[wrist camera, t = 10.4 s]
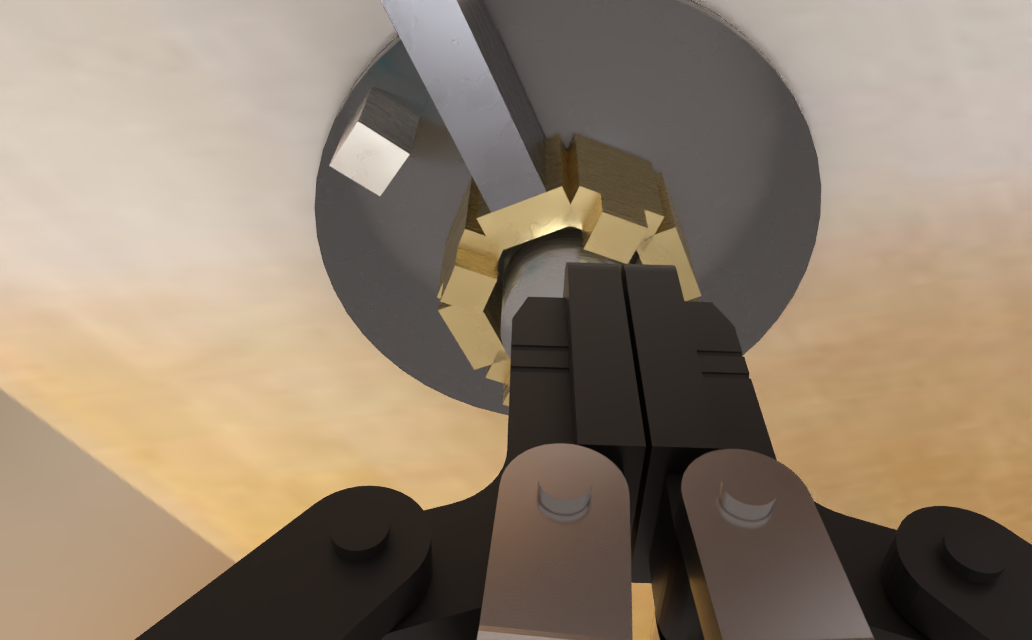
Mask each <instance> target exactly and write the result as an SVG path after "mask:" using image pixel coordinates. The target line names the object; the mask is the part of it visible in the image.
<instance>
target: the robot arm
mask: <svg viewBox="0 0 1032 640" xmlns="http://www.w3.org/2000/svg"><path fill="white" fill-rule="evenodd" d="M631 583H652V590H653V597H654V605H655V611H654V616H653V620H652V625H651V630H650V640H1032V545H1031V544H1029V543H1028V542H1026V541H1025V540H1023V539H1022V538H1020V537H1019V536H1017V535H1016V534H1014V533H1013V532H1011V531H1010V530H1008V529H1007V528H1005V527H1004V526H1002V525H1000V524H999V523H997V522H995V521H994V520H991V519H989V518H987V517H985V516H983V515H981V514H978V513H975V512H972V511H969V510H965V509H961V508H957V507H948V506H932V507H926V508H922V509H919V510H916V511H914V512H912V513H911V514H909V515H908V516H907V517H906V518H905V519H904V520H903V521H902V522H901V524H900V526H899V528H898V530H895V529H891V528H888V527H884V526H881V525H877V524H874V523H870V522H867V521H863V520H860V519H856V518H853V517H849V516H846V515H843V514H840V513H837V512H834V511H832V510H830V509H828V508H825V507H823V506H821V505H820V504H818V503H816V502H814V501H813V499H812V497H811V494H810V492H809V491H808V489H807V487H806V485H805V484H804V483H803V482H802V480H801V479H800V478H799V477H798V476H797V475H796V474H795V473H794V472H793V471H792V470H791V469H789V468H788V467H786V466H785V465H784V464H782V463H780V462H779V461H777V460H776V457H775V454H774V451H773V447H772V444H771V441H770V438H769V435H768V431H767V428H766V425H765V422H764V419H763V416H762V412H761V409H760V406H759V403H758V400H757V397H756V393H755V390H754V387H753V384H752V381H751V379H749V371H748V368H747V365H746V362H745V358H744V357H742V349H741V346H740V343H739V339H738V336H737V333H736V330H735V327H734V325H733V324H732V323H731V322H730V321H729V320H728V319H727V318H726V317H725V315H724V314H723V313H722V312H721V311H720V310H719V309H718V308H717V307H716V306H715V305H714V304H713V303H712V302H689V301H684V297H683V293H682V289H681V285H680V281H679V277H678V273H677V269H676V267H675V266H674V265H648V264H622V265H621V267H619V264H611V263H580V262H566V266H565V276H564V289H563V298H558V297H527V299H526V300H525V302H524V303H523V304H522V306H521V307H520V308H519V310H518V311H517V313H516V314H515V315H514V317H513V318H512V336H511V364H510V391H509V419H508V447H507V456H506V461H505V463H504V466H503V468H502V470H501V471H500V473H499V475H498V476H497V477H496V478H495V480H494V481H493V482H492V483H491V484H490V485H488V486H487V487H486V488H485V489H484V490H482V491H480V492H479V493H477V494H476V495H474V496H472V497H470V498H467V499H465V500H463V501H459V502H456V503H453V504H449V505H445V506H441V507H437V508H433V509H428V510H424V511H423V509H422V508H421V507H420V506H419V505H418V504H417V503H416V502H415V501H414V500H413V499H412V498H410V497H408V496H407V495H405V494H403V493H401V492H399V491H396V490H393V489H390V488H385V487H380V486H358V487H353V488H347V489H344V490H341V491H338V492H335V493H333V494H331V495H329V496H327V497H325V498H323V499H322V500H320V501H318V502H317V503H315V504H314V505H313V506H311V507H310V508H309V509H307V510H306V511H305V512H303V513H302V514H301V515H299V516H298V517H297V518H295V519H294V520H293V521H291V522H290V523H289V524H288V525H286V526H285V527H284V528H282V529H281V530H280V531H278V532H277V533H276V534H274V535H273V536H272V537H270V538H269V539H268V540H266V541H265V542H264V543H262V544H261V545H260V546H258V547H257V548H256V549H254V550H253V551H252V552H250V553H249V554H248V555H246V556H245V557H244V558H242V559H241V560H240V561H238V562H237V563H236V564H234V565H233V566H232V567H231V568H229V569H228V570H227V571H225V572H224V573H222V574H221V575H220V576H218V577H217V578H216V579H215V580H213V581H212V582H211V583H209V584H208V585H207V586H205V587H204V588H203V589H201V590H200V591H199V592H197V593H196V594H195V595H193V596H192V597H191V598H189V599H188V600H187V601H185V602H184V603H183V604H181V605H180V606H179V607H177V608H176V609H175V610H173V611H172V612H171V613H169V614H168V615H167V616H165V617H164V618H163V619H161V620H160V621H159V622H157V623H156V624H155V625H153V626H152V627H151V628H150V629H148V630H147V631H145V632H144V633H143V634H142V635H140V636H139V637H137V638H136V639H135V640H632V590H631Z"/></svg>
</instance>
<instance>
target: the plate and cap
mask: <svg viewBox="0 0 1032 640" xmlns="http://www.w3.org/2000/svg"><path fill="white" fill-rule="evenodd" d="M483 1H484V4H485V6H486V8H487V10H488V13H489V15H490V17H491V19H492V21H493V24H494V26H495V28H496V30H497V33H498V35H499V37H500V39H501V41H502V44H503V46H504V48H505V50H506V53H507V55H508V57H509V59H510V61H511V64H512V66H513V68H514V70H515V73H516V75H517V77H518V79H519V81H520V84H521V86H522V88H523V90H524V93H525V95H526V97H527V99H528V101H529V104H530V106H531V108H532V110H533V113H534V115H535V117H536V119H537V121H538V124H539V126H540V128H541V130H542V133H543V135H544V137H545V139H547V138H549V137H552V136H554V135H557V134H560V136H561V139H562V141H563V143H564V145H565V148H566V150H568V148H569V146H570V144H571V141H572V139H573V137H574V135H575V134H578V135H581V136H583V137H586V138H589V139H591V140H594V141H597V142H599V143H602V144H605V145H607V146H610V147H613V148H615V149H618V150H621V151H623V152H626V153H629V154H631V155H634V156H636V157H639V158H642V159H644V160H647V161H650V162H652V166H653V170H654V175H655V174H658V173H660V172H662V174H663V177H664V179H665V182H666V185H667V188H668V190H669V193H670V196H671V198H672V201H673V204H674V206H675V209H676V212H677V215H678V217H679V220H680V223H681V225H682V228H683V231H684V233H685V236H686V240H687V243H688V247H689V251H690V255H691V258H692V262H693V266H694V270H695V273H696V277H697V281H698V285H699V289H700V292H701V296H700V297H697V301H698V302H712V303H713V304H714V305H715V306H716V307H717V308H718V309H719V310H720V311H721V312H722V313H723V314H724V315H725V317H726V318H727V319H728V320H729V321H730V322H731V323H732V324H733V325H734V327H735V330H736V333H737V336H738V339H739V343H740V346H741V349H742V356H743V355H744V354H745V353H746V352H747V351H748V350H749V349H750V348H751V347H752V346H754V345H755V344H756V343H757V342H758V341H759V340H760V339H761V338H762V337H763V335H764V334H765V333H766V332H767V331H768V330H769V329H770V327H771V326H772V325H773V324H774V323H775V322H776V321H777V319H778V318H779V316H780V315H781V314H782V312H783V311H784V309H785V308H786V306H787V305H788V303H789V302H790V300H791V299H792V297H793V296H794V294H795V292H796V290H797V288H798V286H799V284H800V282H801V280H802V278H803V276H804V274H805V272H806V269H807V266H808V263H809V260H810V257H811V254H812V251H813V248H814V245H815V241H816V236H817V230H818V225H819V219H820V204H821V182H820V175H819V167H818V159H817V154H816V151H815V147H814V144H813V141H812V137H811V134H810V131H809V127H808V125H807V123H806V121H805V119H804V117H803V115H802V113H801V111H800V108H799V106H798V104H797V102H796V100H795V98H794V96H793V95H792V93H791V92H790V90H789V88H788V87H787V85H786V84H785V82H784V81H783V80H782V78H781V77H780V75H779V74H778V72H777V71H776V70H775V68H774V67H773V65H772V64H771V62H770V61H769V60H768V59H767V58H766V57H765V56H764V55H763V54H762V53H761V51H760V50H759V49H758V48H757V47H756V46H755V45H754V44H753V43H752V42H751V41H750V40H749V39H748V38H747V37H746V36H745V35H744V34H742V33H741V32H740V31H738V30H737V29H736V28H734V27H733V26H732V25H730V24H729V23H728V22H727V21H725V20H724V19H723V18H721V17H720V16H719V15H717V14H715V13H713V12H712V11H710V10H708V9H706V8H704V7H703V6H701V5H699V4H697V3H695V2H693V1H692V0H483ZM470 178H471V173H470V171H469V169H468V167H467V165H466V163H465V161H464V160H463V158H462V156H461V154H460V152H459V150H458V148H457V146H456V144H455V142H454V140H453V138H452V136H451V135H450V133H449V131H448V129H447V127H446V125H445V123H444V121H443V119H442V117H441V115H440V113H439V112H438V110H437V108H436V106H435V104H434V102H433V100H432V98H431V96H430V94H429V92H428V90H427V88H426V87H425V85H424V83H423V81H422V79H421V77H420V75H419V73H418V71H417V69H416V67H415V65H414V64H413V62H412V60H411V58H410V56H409V54H408V52H407V50H406V48H405V46H404V44H403V42H402V40H401V39H400V37H399V35H398V36H397V37H396V38H395V39H394V40H393V41H392V42H391V43H390V44H389V45H388V46H387V47H386V48H385V49H383V50H382V51H381V52H380V53H379V54H378V55H377V56H376V57H375V59H374V60H373V61H372V62H371V64H370V65H369V66H368V67H367V69H366V70H365V71H364V72H363V74H362V75H361V76H360V77H359V79H358V80H357V81H356V82H355V84H354V86H353V88H352V89H351V91H350V93H349V94H348V96H347V98H346V100H345V101H344V103H343V105H342V107H341V108H340V110H339V112H338V115H337V117H336V119H335V121H334V124H333V126H332V129H331V131H330V134H329V136H328V139H327V142H326V144H325V147H324V149H323V153H322V158H321V162H320V167H319V171H318V176H317V182H316V197H315V217H316V229H317V238H318V242H319V246H320V251H321V255H322V259H323V263H324V266H325V268H326V271H327V273H328V276H329V278H330V281H331V284H332V286H333V289H334V291H335V292H336V294H337V296H338V298H339V299H340V301H341V303H342V305H343V306H344V308H345V310H346V312H347V313H348V315H349V316H350V317H351V319H352V320H353V321H354V323H355V324H356V325H357V327H358V328H359V329H360V331H361V332H362V333H363V334H364V336H365V337H366V338H367V339H368V340H369V341H370V342H371V343H372V344H373V345H374V346H375V347H376V348H377V349H378V350H379V351H380V352H381V353H382V354H383V355H384V356H386V357H387V358H388V359H389V360H391V361H392V362H393V363H394V364H395V365H397V366H398V367H399V368H400V369H402V370H403V371H404V372H406V373H407V374H409V375H411V376H412V377H414V378H415V379H417V380H418V381H420V382H422V383H423V384H425V385H426V386H428V387H430V388H432V389H434V390H436V391H438V392H440V393H442V394H444V395H446V396H448V397H451V398H453V399H456V400H459V401H461V402H464V403H467V404H469V405H472V406H475V407H478V408H482V409H486V410H489V411H493V412H497V413H501V414H506V415H509V406H506V405H503V385H504V383H501V382H498V381H494V380H491V379H488V378H486V366H485V367H482V368H479V369H475V370H474V368H473V367H472V365H471V363H470V362H469V360H468V359H467V357H466V355H465V354H464V352H463V350H462V349H461V347H460V346H459V344H458V342H457V341H456V339H455V337H454V336H453V334H452V332H451V331H450V329H449V328H448V326H447V324H446V323H445V321H444V319H443V318H442V316H441V315H440V313H439V311H438V307H439V301H440V298H437V293H438V287H439V281H440V274H441V268H442V262H443V256H444V249H445V243H446V238H447V236H448V233H449V231H450V228H451V226H452V223H453V221H454V218H455V216H456V213H457V211H458V208H459V206H460V203H461V201H462V198H463V196H464V193H465V191H466V188H467V185H468V183H469V180H470ZM638 258H639V254H638V252H637V250H636V251H635V252H634V254H633V256H632V258H631V259H630V261H629V263H628V264H636V262H637V260H638ZM566 262H580V263H611V264H619V267H621V265H622V264H625V263H622V262H619V261H616V260H613V259H611V258H608V257H605V256H602V255H599V254H596V253H593V252H590V251H587V250H585V249H583V237H582V230H580V229H578V228H575V227H572V226H568V227H565V228H562V229H560V230H557V231H554V232H551V233H549V234H546V235H543V236H540V237H538V238H535V239H532V240H529V241H527V242H524V243H521V244H518V245H515V246H513V247H510V248H507V249H504V250H503V251H502V254H501V256H500V258H499V261H498V271H499V273H500V275H501V277H502V279H503V294H502V312H501V330H500V332H501V340H502V344H503V347H504V349H505V351H506V353H507V355H508V356H509V358H510V359H511V336H512V318H513V317H514V315H515V314H516V313H517V311H518V310H519V308H520V307H521V306H522V304H523V303H524V302H525V300H526V299H527V297H558V298H563V289H564V276H565V266H566Z"/></svg>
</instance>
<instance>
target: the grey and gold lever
mask: <svg viewBox="0 0 1032 640" xmlns="http://www.w3.org/2000/svg"><path fill="white" fill-rule="evenodd" d="M381 2H382V4H383V6H384V8H385V10H386V12H387V14H388V16H389V17H390V19H391V21H392V23H393V25H394V27H395V29H396V31H397V33H398V35H399V37H400V39H401V40H402V42H403V44H404V46H405V48H406V50H407V52H408V54H409V56H410V58H411V60H412V62H413V64H414V65H415V67H416V69H417V71H418V73H419V75H420V77H421V79H422V81H423V83H424V85H425V87H426V88H427V90H428V92H429V94H430V96H431V98H432V100H433V102H434V104H435V106H436V108H437V110H438V112H439V113H440V115H441V117H442V119H443V121H444V123H445V125H446V127H447V129H448V131H449V133H450V135H451V136H452V138H453V140H454V142H455V144H456V146H457V148H458V150H459V152H460V154H461V156H462V158H463V160H464V161H465V163H466V165H467V167H468V169H469V171H470V173H471V178H470V180H469V183H468V185H467V188H466V191H465V193H464V196H463V198H462V201H461V203H460V206H459V208H458V211H457V213H456V216H455V218H454V221H453V223H452V226H451V228H450V231H449V233H448V236H447V238H446V243H445V249H444V256H443V262H442V268H441V274H440V281H439V287H438V293H437V298H440V301H439V307H438V311H439V313H440V315H441V316H442V318H443V319H444V321H445V323H446V324H447V326H448V328H449V329H450V331H451V332H452V334H453V336H454V337H455V339H456V341H457V342H458V344H459V346H460V347H461V349H462V350H463V352H464V354H465V355H466V357H467V359H468V360H469V362H470V363H471V365H472V367H473V368H474V370H475V369H479V368H482V367H485V366H486V378H488V379H491V380H494V381H498V382H501V383H504V385H503V405H506V406H509V391H510V364H511V359H510V358H509V356H508V355H507V353H506V351H505V349H504V347H503V344H502V340H501V332H500V330H501V312H502V294H503V279H502V277H501V275H500V273H499V271H498V261H499V258H500V256H501V254H502V251H503V250H504V249H507V248H510V247H513V246H515V245H518V244H521V243H524V242H527V241H529V240H532V239H535V238H538V237H540V236H543V235H546V234H549V233H551V232H554V231H557V230H560V229H562V228H565V227H568V226H572V227H575V228H578V229H580V230H582V237H583V249H585V250H587V251H590V252H593V253H596V254H599V255H602V256H605V257H608V258H611V259H613V260H616V261H619V262H622V263H625V264H628V263H629V261H630V259H631V258H632V256H633V254H634V252H635V251H636V250H637V252H638V254H639V258H638V260H637V262H636V264H648V265H674V266H675V267H676V269H677V273H678V277H679V281H680V285H681V289H682V293H683V297H684V301H689V302H698V301H697V297H700V296H701V292H700V289H699V285H698V281H697V277H696V273H695V270H694V266H693V262H692V258H691V255H690V251H689V247H688V243H687V240H686V236H685V233H684V231H683V228H682V225H681V223H680V220H679V217H678V215H677V212H676V209H675V206H674V204H673V201H672V198H671V196H670V193H669V190H668V188H667V185H666V182H665V179H664V177H663V174H662V172H660V173H658V174H655V175H654V170H653V166H652V162H650V161H647V160H644V159H642V158H639V157H636V156H634V155H631V154H629V153H626V152H623V151H621V150H618V149H615V148H613V147H610V146H607V145H605V144H602V143H599V142H597V141H594V140H591V139H589V138H586V137H583V136H581V135H578V134H575V135H574V137H573V139H572V141H571V144H570V146H569V148H568V150H566V148H565V145H564V143H563V141H562V139H561V136H560V134H557V135H554V136H552V137H549V138H547V139H545V137H544V135H543V133H542V130H541V128H540V126H539V124H538V121H537V119H536V117H535V115H534V113H533V110H532V108H531V106H530V104H529V101H528V99H527V97H526V95H525V93H524V90H523V88H522V86H521V84H520V81H519V79H518V77H517V75H516V73H515V70H514V68H513V66H512V64H511V61H510V59H509V57H508V55H507V53H506V50H505V48H504V46H503V44H502V41H501V39H500V37H499V35H498V33H497V30H496V28H495V26H494V24H493V21H492V19H491V17H490V15H489V13H488V10H487V8H486V6H485V4H484V1H483V0H381Z"/></svg>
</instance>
